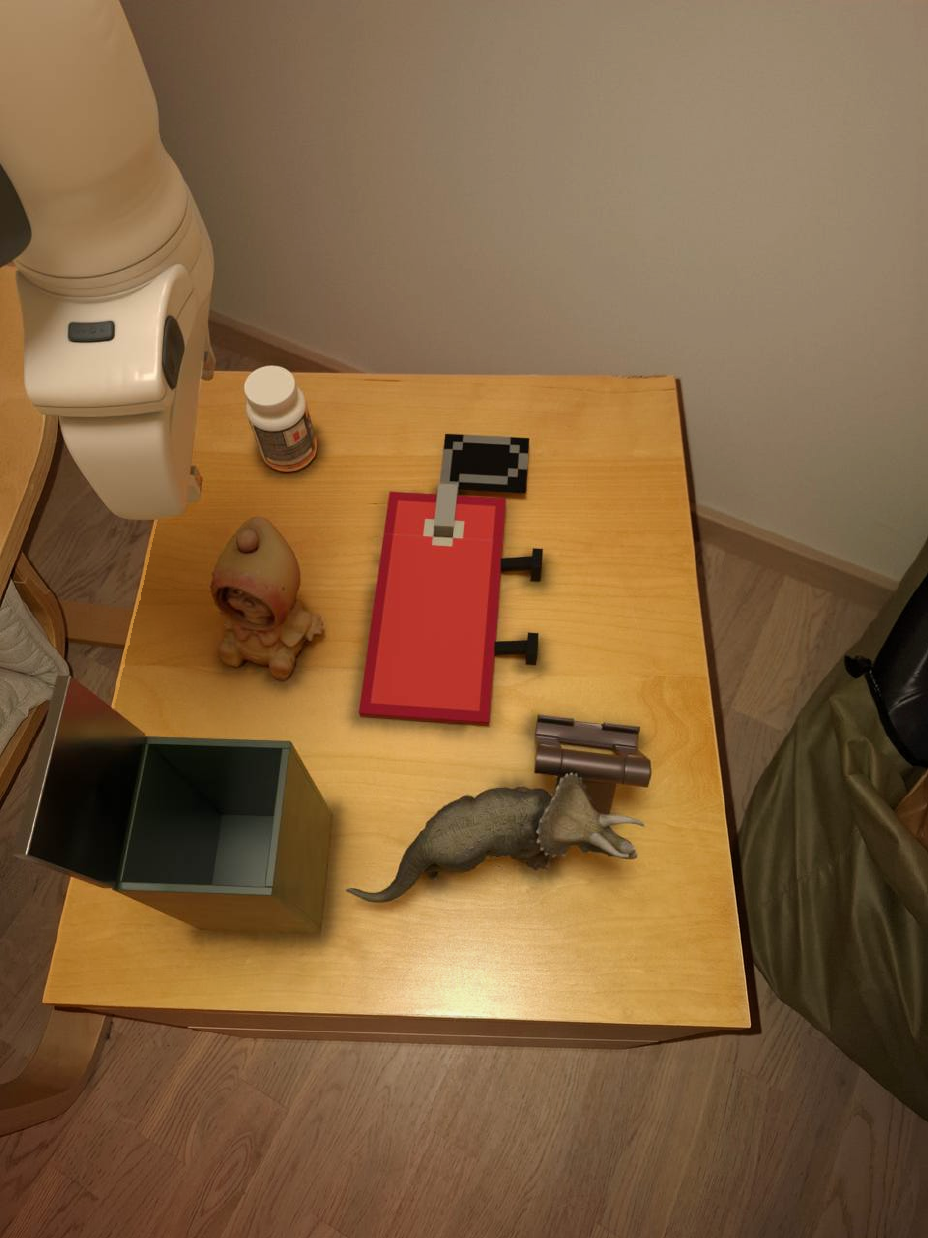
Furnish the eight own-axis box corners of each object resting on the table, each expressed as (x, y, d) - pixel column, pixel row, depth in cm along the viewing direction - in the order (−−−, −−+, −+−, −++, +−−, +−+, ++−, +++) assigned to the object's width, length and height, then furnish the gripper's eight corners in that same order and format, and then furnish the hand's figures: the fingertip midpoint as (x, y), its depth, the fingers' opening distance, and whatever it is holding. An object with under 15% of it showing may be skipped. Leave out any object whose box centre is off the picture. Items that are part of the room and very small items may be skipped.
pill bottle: (329, 449, 90) (314, 383, 82) (287, 484, 89) (267, 420, 80) (291, 418, 92) (272, 350, 83) (249, 452, 90) (225, 386, 81)
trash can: (332, 813, 74) (290, 740, 57) (320, 934, 70) (271, 895, 53) (218, 809, 75) (142, 735, 57) (200, 930, 71) (111, 890, 53)
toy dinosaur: (352, 913, 71) (333, 890, 61) (346, 807, 75) (327, 770, 65) (626, 881, 72) (651, 854, 62) (607, 779, 76) (628, 737, 66)
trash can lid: (70, 674, 48) (56, 674, 48) (26, 855, 44) (11, 855, 44) (145, 733, 57) (133, 733, 57) (115, 888, 53) (102, 888, 53)
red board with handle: (547, 444, 90) (399, 436, 91) (549, 427, 88) (397, 419, 88) (532, 730, 78) (360, 718, 78) (533, 720, 75) (356, 707, 76)
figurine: (202, 668, 80) (168, 553, 69) (233, 605, 85) (207, 488, 73) (309, 690, 79) (292, 578, 68) (335, 626, 84) (323, 511, 72)
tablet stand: (638, 733, 77) (656, 699, 70) (633, 824, 74) (652, 798, 66) (536, 721, 78) (543, 685, 70) (527, 810, 75) (533, 783, 67)
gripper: (84, 122, 49) (164, 309, 62) (17, 423, 40) (126, 570, 53) (199, 117, 49) (256, 305, 62) (157, 418, 40) (233, 566, 53)
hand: (196, 430), depth 57 cm, fingers open, 8 cm apart
